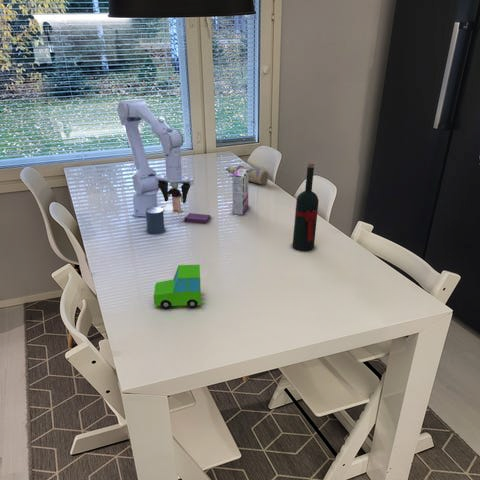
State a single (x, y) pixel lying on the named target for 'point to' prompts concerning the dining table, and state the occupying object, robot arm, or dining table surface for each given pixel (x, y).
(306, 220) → the wine bottle
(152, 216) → the tin can
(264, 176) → the decorative bottle
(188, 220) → the purple box
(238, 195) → the candy bar box
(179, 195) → the grandmother figurine
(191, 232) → the dining table surface
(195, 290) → the toy car
